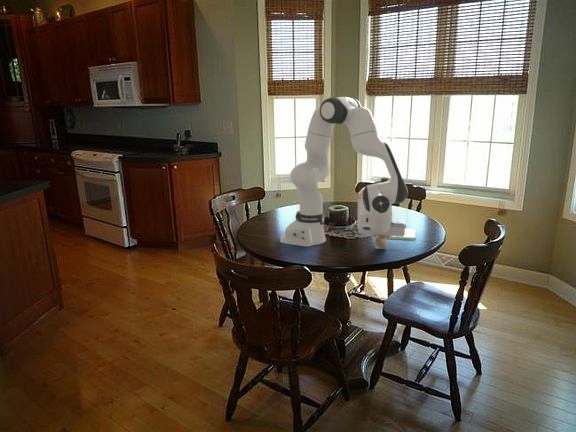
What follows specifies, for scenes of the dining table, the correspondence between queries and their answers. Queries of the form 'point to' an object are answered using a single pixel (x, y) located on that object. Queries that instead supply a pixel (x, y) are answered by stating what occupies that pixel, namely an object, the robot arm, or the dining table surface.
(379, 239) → the maple block
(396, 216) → the dining table surface
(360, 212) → the coffeecake box
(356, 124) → the robot arm
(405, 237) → the white square tile
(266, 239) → the dining table surface
